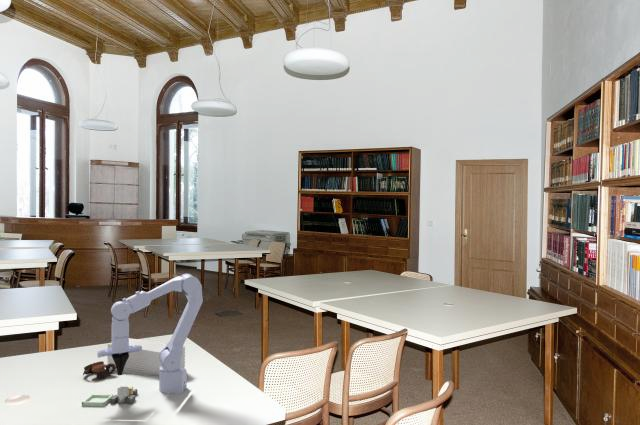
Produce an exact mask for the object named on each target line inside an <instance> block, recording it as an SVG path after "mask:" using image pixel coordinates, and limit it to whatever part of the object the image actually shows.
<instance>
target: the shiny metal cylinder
mask: <svg viewBox="0 0 640 425" xmlns="http://www.w3.org/2000/svg"><path fill="white" fill-rule="evenodd" d="M129 387H130V386H127V387H121V386H120V387H118V388H117V390H116V392H117V394H116V395H117V402H116V403H117V405H125V404H127V399H128V398H129V397H130V395H129Z"/></svg>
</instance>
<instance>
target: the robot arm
mask: <svg viewBox="0 0 640 425" xmlns="http://www.w3.org/2000/svg"><path fill="white" fill-rule="evenodd" d="M201 283H202V282H200V280H199V279H198V278H197V277H196V276H193V275H192V274H191V273H188V272H187V273H183V274H181V275H178V276H175V277H173V278H172V279H171V278H170V279H169V280H168V281H166V282H164V283H162V284H161V285H158V286H157V287H155V288H153V289H151V290H149V291H144V290H141V291H140V290H137V291H135V294H133V295H131V296H129V297H124V298H122V299H121V300H122V301H116V302H114V303H113V305H112V306H111V308H110V314H111V315H112V317H111V342H110V343H111V348H109V349H108V348H105V349H101V350H97V358H98V359H99V358H103V357H108V356H110V355H111V356H112V358H113V360H114V362H115V365H116V368H117V370H116V373H117V376H123V374H124V372H123V370H124V366H125V364H126V362H127V360H128V358H129V353H131V352H138V351H139V352H142V346H141V345H135V346H129V338H130V322H129V317H130V316H131V315H130V314H134V313H136V312H138V311H141V310H143V309H144V308H146V307H148V306H150V304H151V302H152V301H153V300H155V299H157V298H159V297H161V296H164V295H166V294H169V293H171V292H180V293H182V292H183V293H184V295H185V296H186V299H187V303H186V305H185V307H184V310H183V311H182V314H181V316H180V318H179V320H178V322H177V325H176V327H175V330H174V331H173V334H172V336H171V338H170V340H169V341H168V342H167V343H166V344H167V345H166V347H165V348H164V349H163V350H162V351H161V352H160V354H159V360H160V362H161V363H162V364H161V366H160V373H159V375H158V376H159V378H158V379H159V383H158V384H159V388H158V389H159V390H158V391H159V392H161V393H165V394H166V393H167V394H170V395H171V394H182V393H184V392H185V390H186V389H187V381H188V380H187V379H188V378H187V375H188V374H187V373H188V372H187V369H186V368H185V369H182V368H180V364H181V356H182V353H183V346H185V342H186V341H187V338H188V336H189V334H190V331H191V329H192V327H193V324H194V323H195V320H196V317H197V316H198V313H199V311H200V309H201V306H202V304H203V302H204V300H203V299H204V298H203V291H202V288H203V285H202V284H201Z"/></svg>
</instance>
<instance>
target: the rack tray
mask: <svg viewBox="0 0 640 425" xmlns="http://www.w3.org/2000/svg"><path fill="white" fill-rule="evenodd" d="M113 396H114V394H109V393H108V394H106V393H105V394H102V393H101V394H98V393H94V394H93V393H91V394H90V395H89V396H88V397H86V398H85V399H84V400H83V401H81V406H82V407H105V406H106V405H107V404H108V403H110V399H111V398H112V397H113Z"/></svg>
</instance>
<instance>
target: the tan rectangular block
mask: <svg viewBox="0 0 640 425" xmlns="http://www.w3.org/2000/svg"><path fill="white" fill-rule="evenodd" d="M120 387H129V396H131V395H133V391H134V386H120Z"/></svg>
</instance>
